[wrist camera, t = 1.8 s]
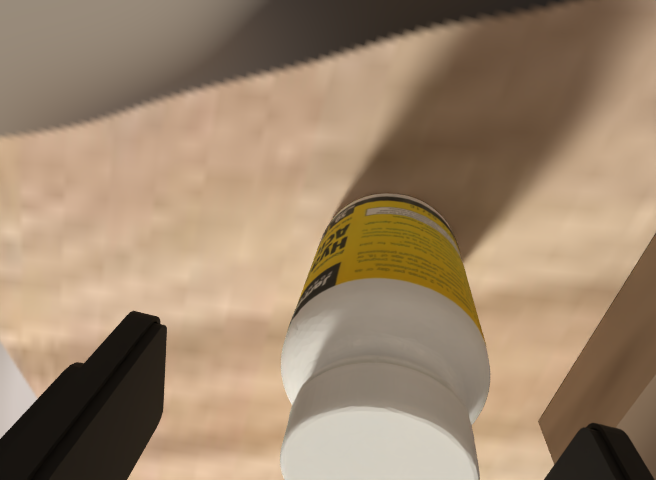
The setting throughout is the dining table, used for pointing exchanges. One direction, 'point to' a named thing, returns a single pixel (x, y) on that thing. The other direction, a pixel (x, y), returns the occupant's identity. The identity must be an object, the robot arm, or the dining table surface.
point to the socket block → (614, 372)
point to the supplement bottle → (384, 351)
